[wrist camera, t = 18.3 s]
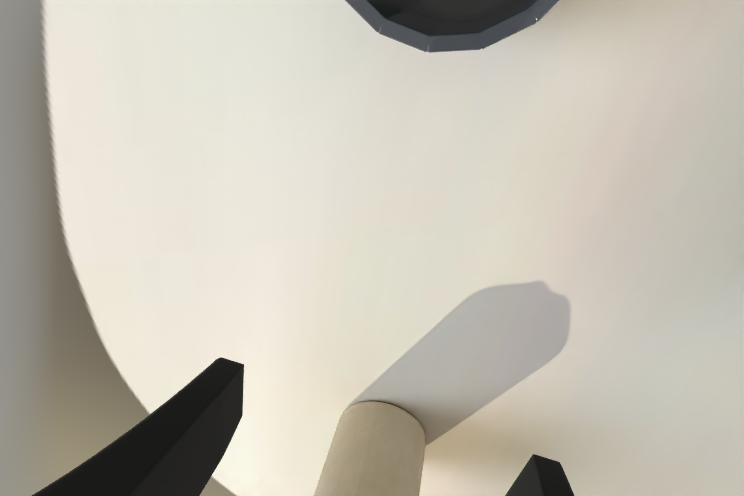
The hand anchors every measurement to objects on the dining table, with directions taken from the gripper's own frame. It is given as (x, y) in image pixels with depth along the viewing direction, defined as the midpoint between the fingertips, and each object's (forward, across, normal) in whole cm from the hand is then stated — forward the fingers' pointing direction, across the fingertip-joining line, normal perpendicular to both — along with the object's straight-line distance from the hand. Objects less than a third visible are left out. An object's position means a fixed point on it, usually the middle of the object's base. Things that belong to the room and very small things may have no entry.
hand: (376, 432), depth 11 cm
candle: (+11, -1, +14) cm, 18 cm away
